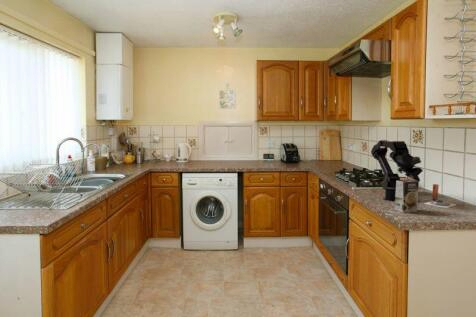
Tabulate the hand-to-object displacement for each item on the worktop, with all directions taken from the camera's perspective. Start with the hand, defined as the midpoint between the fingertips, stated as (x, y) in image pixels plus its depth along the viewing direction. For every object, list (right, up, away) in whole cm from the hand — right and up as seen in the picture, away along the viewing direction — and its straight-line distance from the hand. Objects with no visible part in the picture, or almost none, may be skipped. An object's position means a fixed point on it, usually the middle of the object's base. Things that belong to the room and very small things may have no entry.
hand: (419, 180), depth 198 cm
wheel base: (+10, -13, -4) cm, 17 cm away
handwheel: (+10, -13, -4) cm, 17 cm away
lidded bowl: (+6, -10, +26) cm, 29 cm away
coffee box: (-17, -15, -18) cm, 29 cm away
